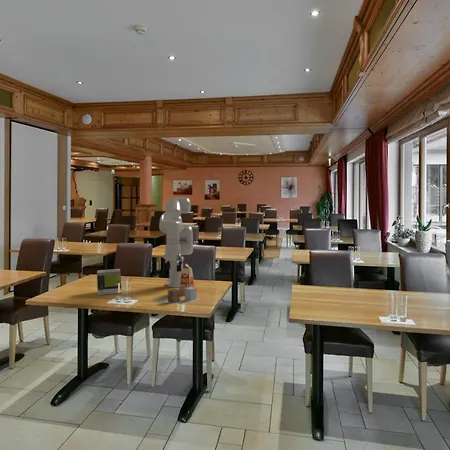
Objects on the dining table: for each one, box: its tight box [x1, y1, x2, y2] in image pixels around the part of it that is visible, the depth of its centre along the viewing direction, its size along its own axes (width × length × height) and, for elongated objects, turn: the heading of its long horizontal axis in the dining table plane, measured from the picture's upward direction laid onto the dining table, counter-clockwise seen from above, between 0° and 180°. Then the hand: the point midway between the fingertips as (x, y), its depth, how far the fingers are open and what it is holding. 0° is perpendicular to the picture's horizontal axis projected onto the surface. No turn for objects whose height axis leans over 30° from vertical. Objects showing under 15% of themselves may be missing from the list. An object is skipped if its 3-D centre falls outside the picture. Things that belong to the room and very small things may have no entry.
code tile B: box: [180, 297, 201, 303], centre depth 245 cm, size 9×9×1 cm
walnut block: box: [167, 288, 181, 303], centre depth 239 cm, size 5×5×7 cm
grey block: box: [184, 286, 197, 301], centre depth 244 cm, size 5×5×7 cm
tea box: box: [96, 268, 122, 296], centre depth 263 cm, size 15×10×15 cm, turn 108°
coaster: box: [152, 297, 168, 303], centre depth 243 cm, size 7×7×1 cm
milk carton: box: [178, 263, 196, 295], centre depth 261 cm, size 9×9×20 cm
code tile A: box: [164, 299, 185, 306], centre depth 240 cm, size 9×9×1 cm
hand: (173, 270), depth 238 cm, fingers open, 9 cm apart
